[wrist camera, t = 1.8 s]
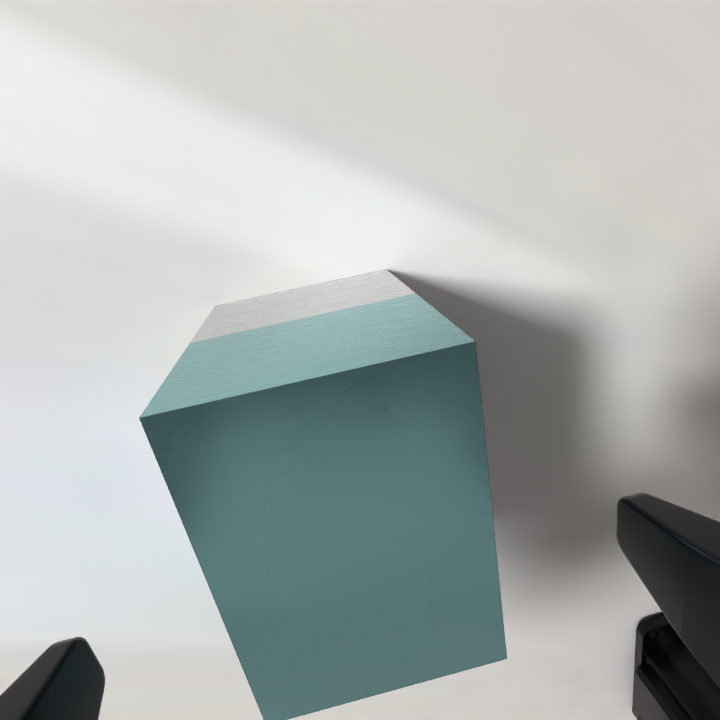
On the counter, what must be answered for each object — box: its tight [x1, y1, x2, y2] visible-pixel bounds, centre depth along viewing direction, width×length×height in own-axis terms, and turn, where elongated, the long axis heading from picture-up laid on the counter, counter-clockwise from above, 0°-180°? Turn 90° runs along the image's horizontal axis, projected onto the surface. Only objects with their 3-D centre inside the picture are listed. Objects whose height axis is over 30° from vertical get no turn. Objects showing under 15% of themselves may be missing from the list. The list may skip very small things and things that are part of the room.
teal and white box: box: [140, 269, 507, 720], centre depth 11 cm, size 7×5×7 cm
